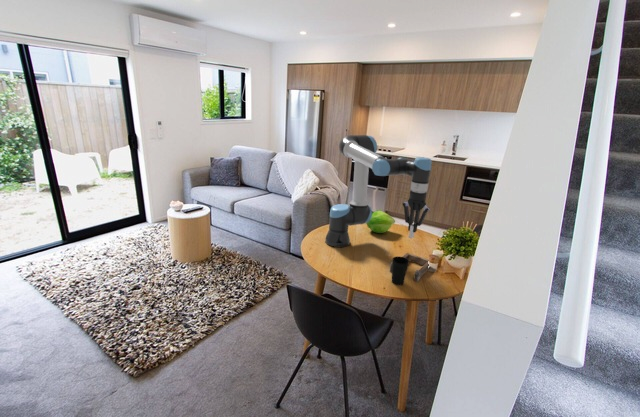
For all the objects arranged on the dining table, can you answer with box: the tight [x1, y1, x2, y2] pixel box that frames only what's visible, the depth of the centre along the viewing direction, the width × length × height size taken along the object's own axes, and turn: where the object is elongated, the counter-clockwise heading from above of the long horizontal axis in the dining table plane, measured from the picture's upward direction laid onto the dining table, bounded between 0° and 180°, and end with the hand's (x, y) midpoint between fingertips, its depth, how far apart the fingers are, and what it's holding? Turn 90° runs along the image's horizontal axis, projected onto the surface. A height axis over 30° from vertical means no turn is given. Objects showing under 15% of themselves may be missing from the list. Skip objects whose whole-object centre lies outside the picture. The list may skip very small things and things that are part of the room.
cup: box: [391, 256, 410, 286], centre depth 148 cm, size 8×8×12 cm
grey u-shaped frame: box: [389, 252, 430, 283], centre depth 163 cm, size 15×20×5 cm
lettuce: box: [365, 210, 396, 234], centre depth 210 cm, size 15×20×14 cm
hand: (411, 237), depth 152 cm, fingers closed
